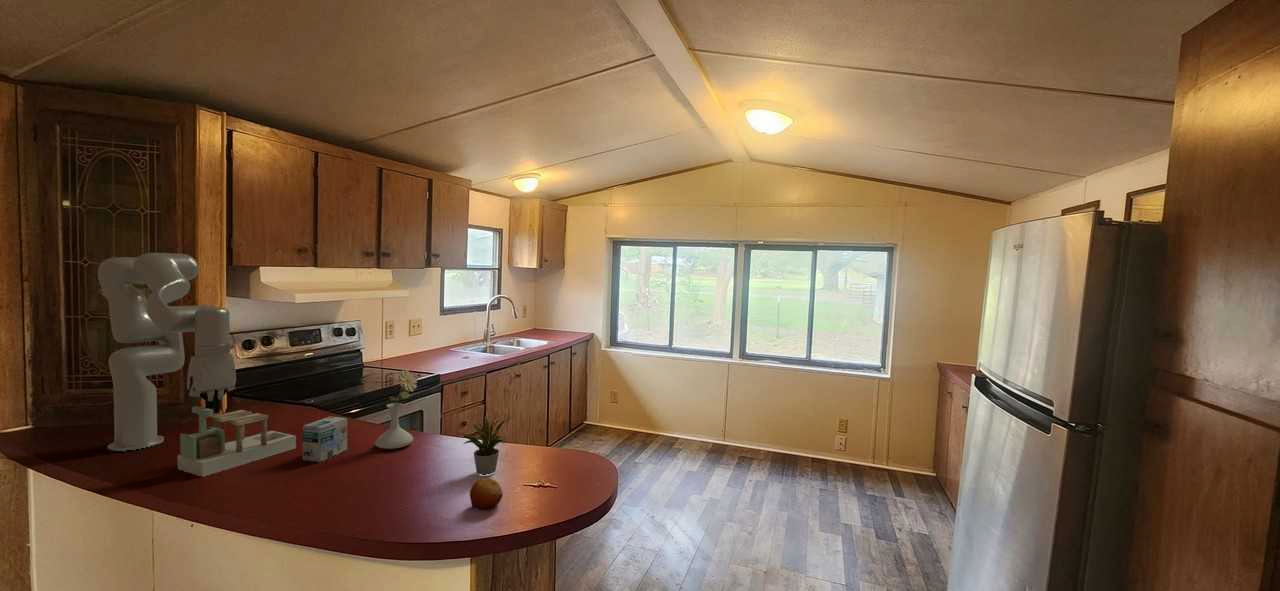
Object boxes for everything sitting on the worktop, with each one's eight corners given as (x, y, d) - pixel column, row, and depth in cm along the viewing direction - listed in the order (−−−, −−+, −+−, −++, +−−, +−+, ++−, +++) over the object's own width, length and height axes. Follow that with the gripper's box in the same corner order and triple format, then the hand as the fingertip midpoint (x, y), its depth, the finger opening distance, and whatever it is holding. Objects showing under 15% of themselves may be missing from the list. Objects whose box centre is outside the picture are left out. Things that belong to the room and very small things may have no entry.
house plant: (493, 458, 154) (494, 407, 153) (523, 469, 146) (524, 415, 145) (452, 472, 142) (453, 417, 141) (482, 485, 134) (483, 426, 133)
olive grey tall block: (178, 455, 137) (178, 409, 137) (210, 447, 144) (209, 403, 144) (195, 460, 134) (195, 413, 134) (226, 451, 141) (226, 407, 141)
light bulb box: (320, 462, 147) (320, 427, 146) (301, 460, 148) (301, 425, 147) (348, 450, 157) (348, 417, 157) (330, 448, 158) (330, 415, 158)
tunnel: (211, 445, 147) (211, 416, 146) (242, 438, 154) (241, 409, 154) (238, 452, 142) (238, 422, 142) (268, 444, 149) (268, 415, 149)
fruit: (466, 494, 125) (483, 468, 125) (493, 509, 126) (509, 483, 126) (457, 509, 117) (475, 481, 117) (485, 525, 118) (503, 497, 118)
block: (189, 456, 139) (189, 438, 138) (210, 450, 143) (210, 433, 143) (200, 459, 137) (200, 441, 136) (221, 453, 141) (220, 436, 141)
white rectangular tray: (177, 469, 139) (177, 455, 139) (271, 442, 162) (271, 430, 162) (202, 477, 134) (202, 462, 134) (295, 448, 158) (295, 435, 157)
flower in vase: (388, 454, 154) (389, 376, 153) (367, 447, 160) (367, 372, 159) (425, 443, 166) (425, 370, 165) (404, 436, 171) (404, 366, 170)
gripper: (234, 346, 149) (234, 405, 150) (172, 352, 135) (173, 418, 136) (249, 348, 146) (250, 408, 147) (188, 355, 132) (189, 422, 133)
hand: (213, 413), depth 141 cm, fingers closed
